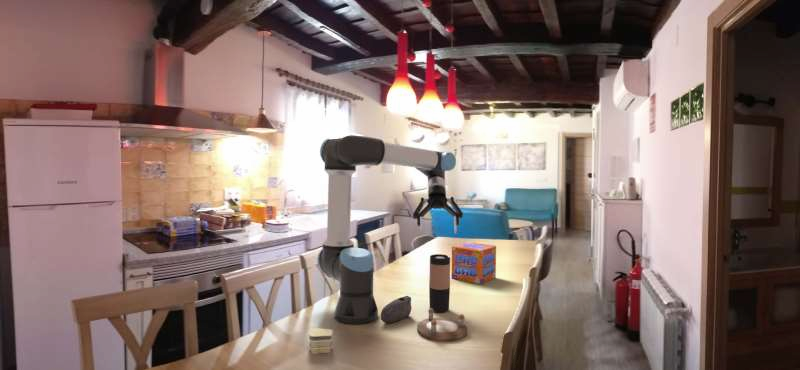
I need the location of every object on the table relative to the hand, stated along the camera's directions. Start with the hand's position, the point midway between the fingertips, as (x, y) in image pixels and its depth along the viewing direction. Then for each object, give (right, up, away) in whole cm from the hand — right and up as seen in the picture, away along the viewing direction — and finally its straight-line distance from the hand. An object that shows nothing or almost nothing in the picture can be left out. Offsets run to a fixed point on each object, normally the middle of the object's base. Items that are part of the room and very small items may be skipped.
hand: (438, 231), depth 165 cm
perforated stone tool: (-17, -28, -20) cm, 39 cm away
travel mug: (-1, -28, -10) cm, 30 cm away
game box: (+20, -26, +34) cm, 48 cm away
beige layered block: (-38, -30, -45) cm, 66 cm away
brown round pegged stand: (-2, -29, -30) cm, 42 cm away
